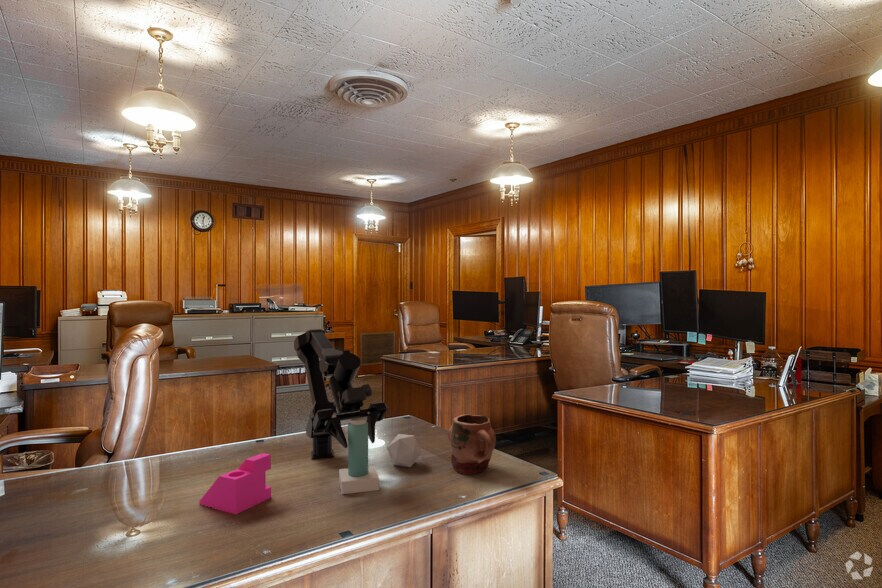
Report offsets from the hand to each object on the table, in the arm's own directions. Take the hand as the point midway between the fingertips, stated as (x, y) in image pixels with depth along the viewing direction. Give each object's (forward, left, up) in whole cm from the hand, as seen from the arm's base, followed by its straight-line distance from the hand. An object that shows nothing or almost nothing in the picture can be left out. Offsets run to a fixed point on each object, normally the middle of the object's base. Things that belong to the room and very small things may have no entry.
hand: (360, 444), depth 125 cm
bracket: (0, -29, -11) cm, 31 cm away
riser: (-1, 0, -11) cm, 11 cm away
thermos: (-1, 0, -7) cm, 8 cm away
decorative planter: (-3, +31, -11) cm, 33 cm away
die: (-13, +14, -11) cm, 22 cm away
